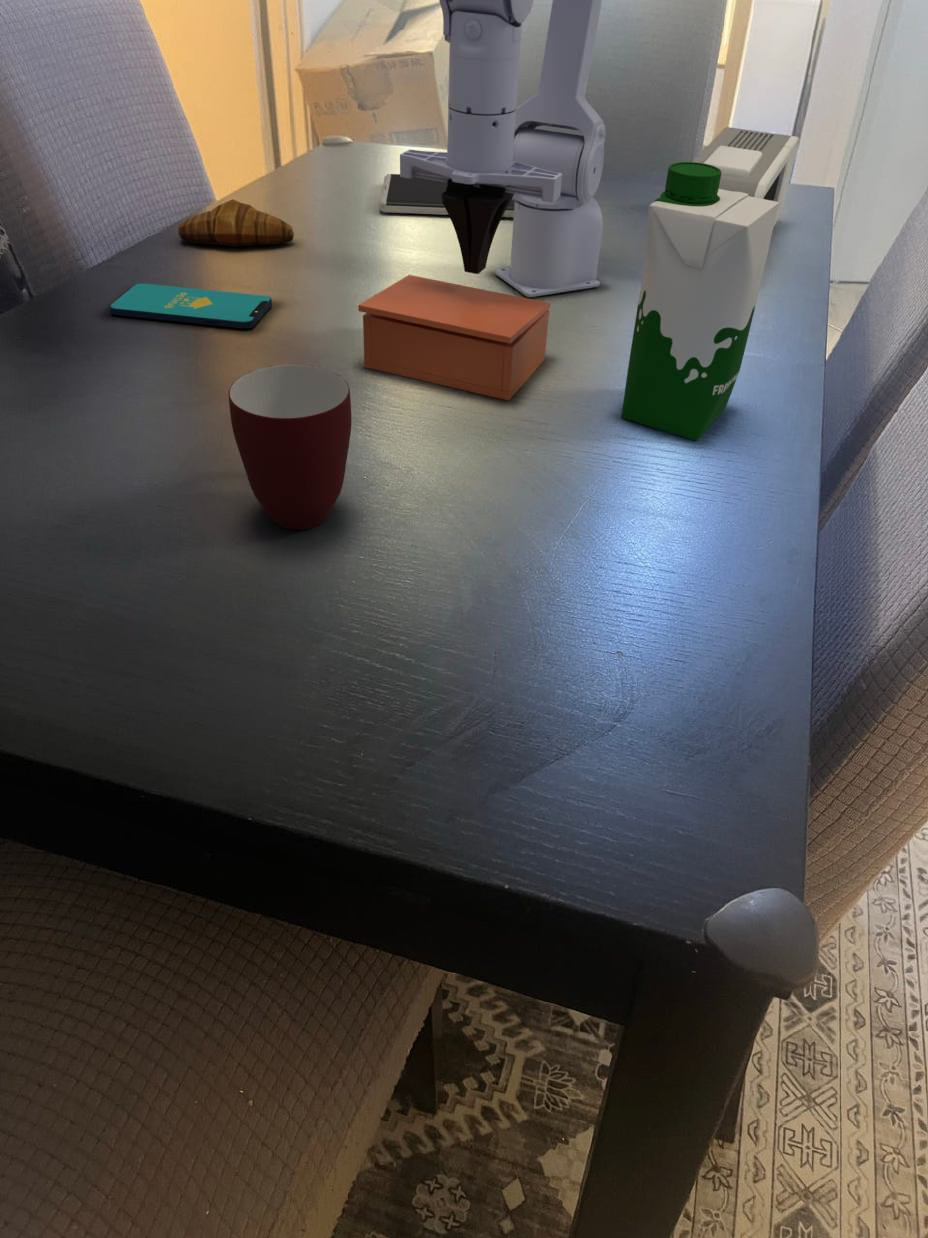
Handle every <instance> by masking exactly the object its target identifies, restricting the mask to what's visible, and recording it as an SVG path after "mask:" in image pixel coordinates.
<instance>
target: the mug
mask: <svg viewBox="0 0 928 1238" xmlns="http://www.w3.org/2000/svg"><path fill="white" fill-rule="evenodd" d="M351 399H352V398H351V389H350V385H349V383H348V382H347V381H346V380H345V378H344V377H342V376H341V375H340V374H338V373H336V372H334V371H332V370H329V369H326V368H324V367H321V366H315V365H308V364H296V363H295V364H292V363H291V364H277V365H270V366H265V367H260V368H257V369H255V370H252V371H249V372H247V373H245V374H243V375H241V376H239V377H238V378H237V379H236V380H235V381H234V382H232V384H231V385H230V386H229V389H228V405H229V414H230V423H231V428H232V432H233V433H232V434H233V436H234V440H235V443H236V446H237V449H238V453H239V455H240V458H241V462H242V465H243V468H244V471H245V475H246V477H247V480H248V484H249V486H250V488H251V491H252V493H253V496H254V497H255V498H256V500H257V502H258V503H259V504H260V506H261V508H263V510H264V511H265V512H266V513H267V515H268V516H269V517H270V518H271V520H272V521H273V522H274V523H275V524H276V525H278V526H279V527H281V528H282V529H283V528H284V529H287V530H293V531H304V530H309V529H313V528H316V527H317V526H320V525H322V524H323V523H324V522H325V521H326V520H327V518H328V517H329V514H330V513H331V511H332V509H333V508H334V506H335V504H336V503H337V500H338V498H339V496H340V494H341V492H342V489H343V486H344V482H345V481H344V480H345V474H346V467H347V461H348V460H347V459H348V454H349V446H350V440H351V433H352V402H351V401H352V400H351Z"/></svg>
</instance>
